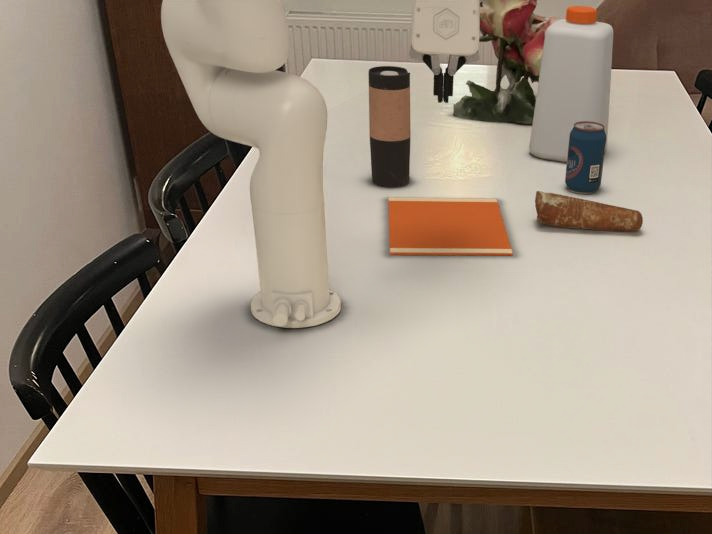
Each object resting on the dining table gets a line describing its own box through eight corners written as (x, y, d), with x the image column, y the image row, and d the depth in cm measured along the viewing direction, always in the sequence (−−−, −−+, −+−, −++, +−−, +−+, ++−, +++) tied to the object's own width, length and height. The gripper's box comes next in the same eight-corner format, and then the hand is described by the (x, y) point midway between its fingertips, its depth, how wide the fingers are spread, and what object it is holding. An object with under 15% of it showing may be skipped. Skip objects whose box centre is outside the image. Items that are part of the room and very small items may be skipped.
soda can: (557, 185, 181) (563, 122, 174) (587, 181, 183) (594, 118, 176) (576, 197, 176) (583, 132, 169) (607, 192, 178) (615, 128, 171)
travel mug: (362, 182, 177) (359, 71, 165) (384, 172, 182) (382, 63, 171) (397, 190, 174) (395, 77, 162) (417, 179, 180) (418, 69, 168)
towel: (512, 255, 151) (512, 253, 151) (390, 254, 149) (390, 252, 149) (496, 200, 172) (496, 198, 172) (388, 199, 170) (388, 197, 170)
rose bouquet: (572, 129, 213) (586, -17, 195) (447, 118, 216) (450, -27, 198) (579, 102, 234) (593, -33, 216) (466, 92, 237) (470, -42, 219)
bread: (534, 217, 166) (537, 186, 163) (641, 227, 164) (645, 196, 161) (531, 229, 161) (533, 198, 158) (641, 240, 159) (645, 208, 156)
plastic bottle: (523, 157, 194) (534, 10, 178) (543, 139, 206) (554, -2, 189) (594, 168, 190) (611, 18, 174) (609, 148, 202) (627, 6, 186)
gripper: (395, -32, 131) (394, 104, 141) (500, -27, 132) (492, 108, 142) (395, -39, 137) (394, 93, 147) (496, -33, 138) (488, 97, 149)
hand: (442, 100), depth 145 cm, fingers closed
